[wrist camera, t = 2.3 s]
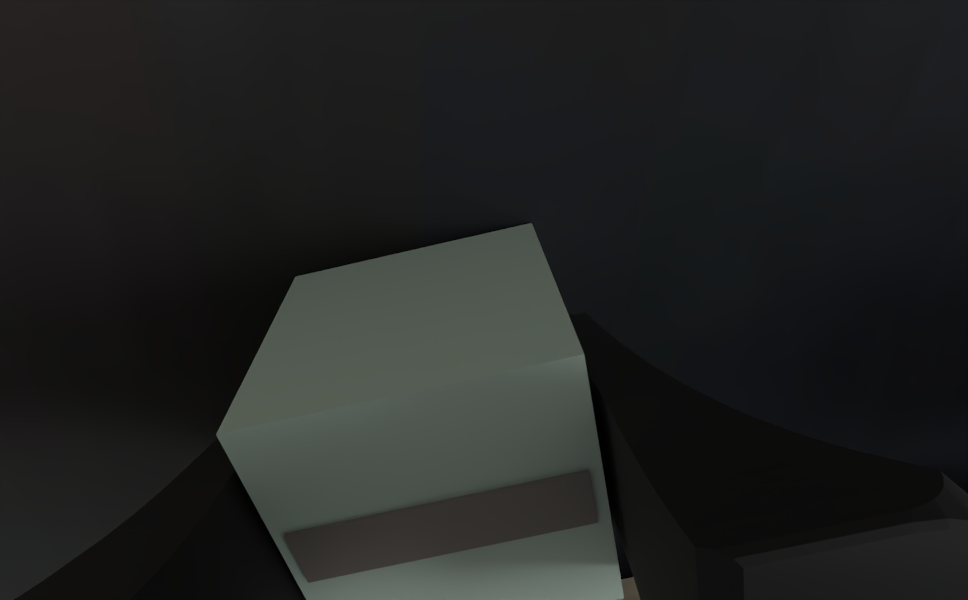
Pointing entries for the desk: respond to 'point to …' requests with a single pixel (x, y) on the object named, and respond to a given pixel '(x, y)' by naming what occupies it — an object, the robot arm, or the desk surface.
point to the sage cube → (428, 431)
